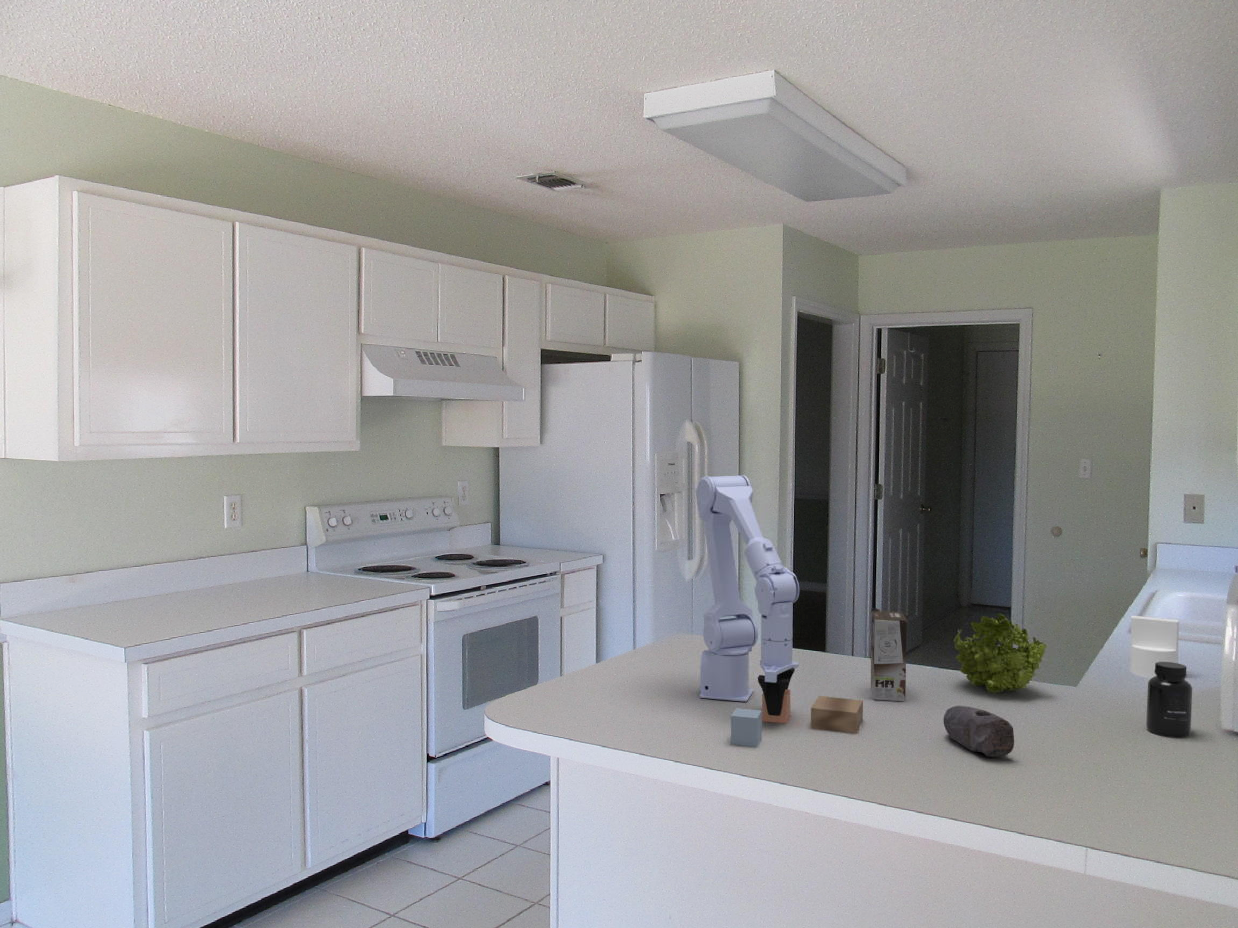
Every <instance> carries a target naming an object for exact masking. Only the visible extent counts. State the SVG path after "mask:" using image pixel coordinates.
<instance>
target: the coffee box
mask: <svg viewBox="0 0 1238 928" xmlns="http://www.w3.org/2000/svg"><path fill="white" fill-rule="evenodd" d="M870 613H871V614H870V689H871V695H872V699H873V700H876V701H893V702H906V689H907V687H906V685H907V683H906V681H907V679H906V677H907V629H908V628H907V627H908V626H907V623H908V620H907V619H906V616H905V615H904V613H903V611H891V610H890V611H889V610H887V611H870Z"/></svg>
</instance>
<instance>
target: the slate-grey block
mask: <svg viewBox="0 0 1238 928" xmlns="http://www.w3.org/2000/svg"><path fill="white" fill-rule="evenodd" d="M762 722H763V721H762V709H761V710H760V709H749V708H739V707H736V708H735V709H734V710H733V712H732V714H731V715H730V745H732V746H733V745H734V746H743V747H751V746H755V747H754V748H758V747H759V744H760V742H761V741H762V740H763V739H762V738H763V735H762V734H763V733H762V732H763V727H762V726H763V723H762ZM757 746H758V747H757Z"/></svg>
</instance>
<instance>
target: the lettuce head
mask: <svg viewBox="0 0 1238 928" xmlns="http://www.w3.org/2000/svg"><path fill="white" fill-rule="evenodd" d="M980 621H981V622H974V621H972V622H971V623H970V626H971V627H972V630H973V633H974V634H973V635H972V638H971V637H969V636H966V637H964V640H962V639H961V634H962V630H963V629H962V628H961V629H957V632H958V633H957V634H955V638H954V639H953V642H954V648H955V649H956V651H958V652H959V654H957V656H956V657H955V659H956V660H957V661H958V663H960V664H961V668H959V671H960V672H961V673H962V674H963V675H966V676H965V677H966V679H967V680H968V681H969V682H971V684H972V686H973V685H974V686H976V687H977V686H978V687H979V686H980V687H981V685H982V687H984V686H985V689H986V691H987V692H989V693H993V694H995V693H1002V692H1004V691H1008V692H1013V691H1014V692H1015V691H1017V690H1019V689H1025V690H1026V686H1027V685H1028V684H1029V685H1030V683H1031V682H1032V681H1033V679H1032V678H1033V677H1035V676H1036V673H1035V672H1036V670H1039V669H1040V665H1039V663H1042V662H1043V659H1042V658H1044V654H1045V652H1046V650H1047V644H1046V643H1044V642H1040V640H1039V639H1036V637H1035V636H1034V637H1032V640H1033V642H1031V643H1029V642H1030V640H1029V639H1030V637H1029V633H1028V631H1027V629H1026V628H1022V629H1021V627H1020V626H1019V624H1017V623H1015V624H1014V623H1013V622H1012V621H1011V620H1009V619H1008V618H1007V617H1006V616H1005V615H1004V614H1001V613H998V616H997V617H996V619H994V618H993V617H992V618H990V617H988V616H986V615H982V616H981V620H980ZM975 633H976V634H975ZM980 637H981V638H980ZM979 639H980V640H979ZM965 640H966V641H965ZM998 643H1000V644H998ZM996 645H998V647H996ZM1014 645H1016V646H1017V647H1016V648H1015V647H1014ZM1030 681H1031V682H1030Z"/></svg>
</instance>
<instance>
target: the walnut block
mask: <svg viewBox="0 0 1238 928" xmlns="http://www.w3.org/2000/svg"><path fill="white" fill-rule="evenodd" d="M863 711H864V701H863V700H861V699H852V698H843V697H834V696H823V695H818V697H817V699H816V700H815V701H814V703H813V704H812V706H811V707H810V729H813V730H819V731H820V730H823V731H829V732H830V731H831V732H839V733H847V734H854V735H855V734H857V733H858V731H859V729H860V726H861V724H862V723H863V721H864V720H863V719H864V712H863Z"/></svg>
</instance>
